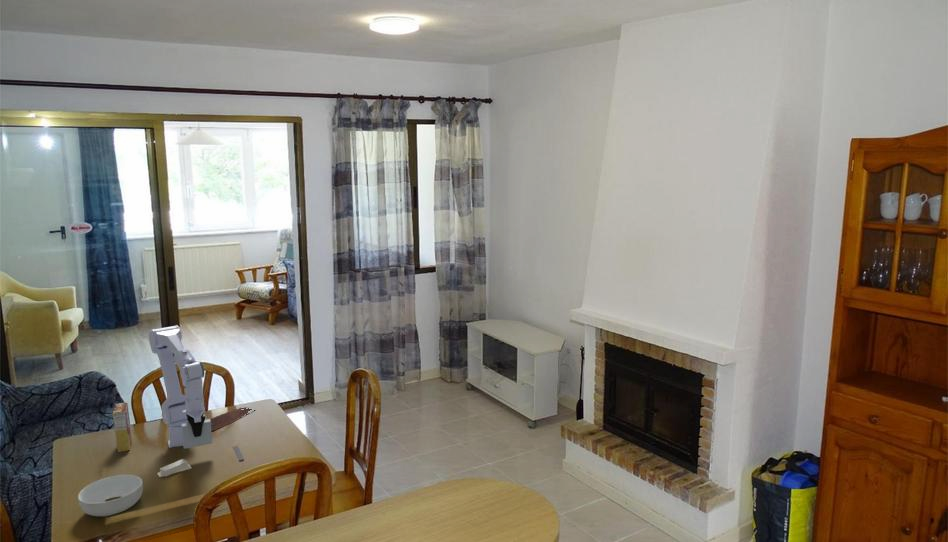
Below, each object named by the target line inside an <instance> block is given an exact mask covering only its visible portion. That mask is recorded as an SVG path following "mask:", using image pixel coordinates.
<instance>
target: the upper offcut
mask: <svg viewBox="0 0 948 542" xmlns="http://www.w3.org/2000/svg"><path fill="white" fill-rule="evenodd" d="M188 464H189V461H188V460H186V459H184V458H182V459H179V460H177V461H174V462H172V463H170V464H167V465H165V466H163V467H160V468H159V472H160V474H161V475H164V476H163V477H168V476H170V475H173V474H176V473H175V472H177V471H180V470H182V469H184V468H187V467H188ZM180 472H181V471H180ZM177 473H178V472H177Z"/></svg>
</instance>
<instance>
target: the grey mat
mask: <svg viewBox="0 0 948 542" xmlns="http://www.w3.org/2000/svg"><path fill="white" fill-rule="evenodd" d="M232 449H233V451H234V453H235V456H236V458H237V460H238V461H239V462H242V461H245V459H244V457H243V455H242V452H241V449H240V448H239V445H235V446H232Z"/></svg>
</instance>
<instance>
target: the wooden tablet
mask: <svg viewBox="0 0 948 542" xmlns="http://www.w3.org/2000/svg"><path fill="white" fill-rule="evenodd" d="M238 408H239V409H237V408H234V409H232V410H229V411H227V412H225V413H224V412H223V413H221V414H218V415H217V416H213V417H211V418H209V419H210V421H211V431H212V432H214V431H213V430H215V431H217V430H219V429H221V428H223V426H224V427H225V426H227V424H228V425H230V424H232V423H234V422H236V421H237V419H238V418H240V417H242V416H244V415H245V414H247V413H248V411H250V410H252V409H249V408H250V407H244V408H241V407H238ZM246 408H248V409H246ZM241 409H244V410H241ZM244 417H245V416H244ZM242 418H243V417H242ZM240 419H241V418H240ZM235 420H236V421H235ZM238 420H239V419H238ZM218 428H219V429H218ZM216 429H217V430H216Z"/></svg>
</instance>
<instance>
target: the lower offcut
mask: <svg viewBox="0 0 948 542" xmlns="http://www.w3.org/2000/svg"><path fill="white" fill-rule="evenodd" d="M190 469H192V466H191V465H190V464H189V463H188V467H187V468H184V469H182V470H180V471H177V472H175V473H174V474H176V473H180V472H184V471H187V470H190ZM156 475H158V477H159V478H161V477H165V476H164V475H161V474H160V471H159V472H157V473H156Z"/></svg>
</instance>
